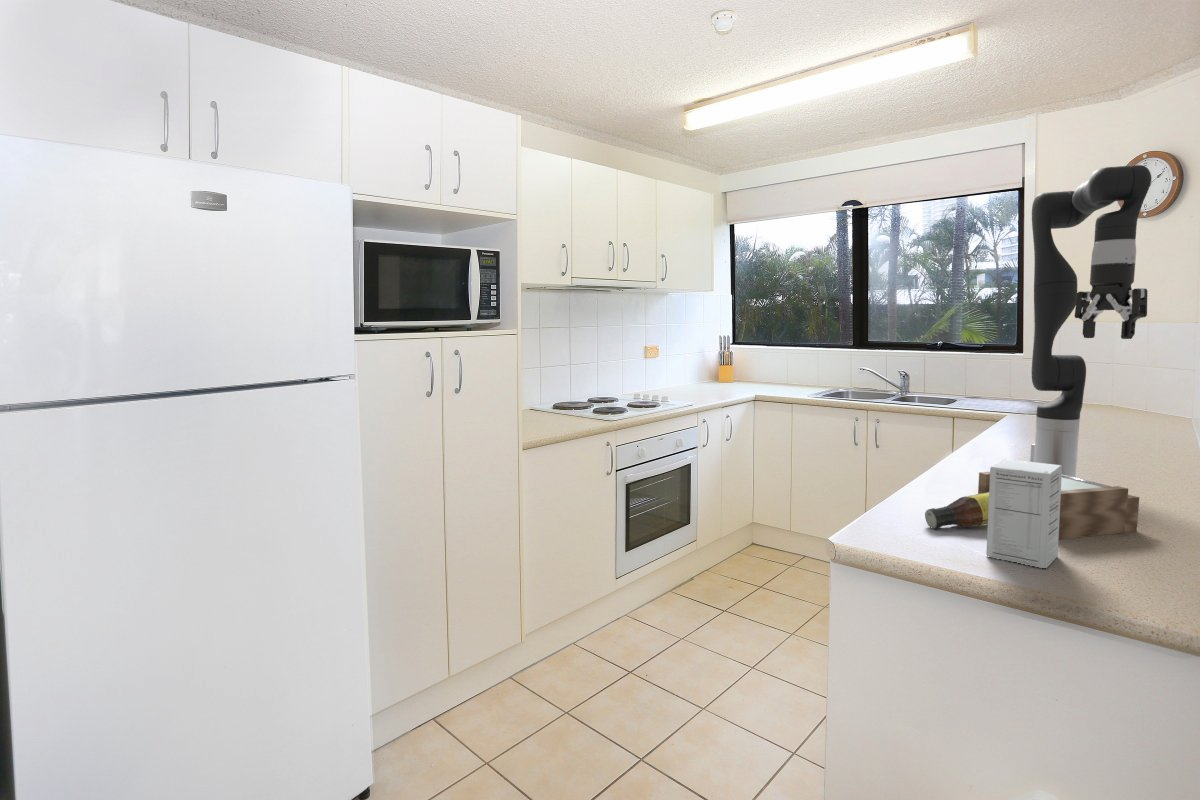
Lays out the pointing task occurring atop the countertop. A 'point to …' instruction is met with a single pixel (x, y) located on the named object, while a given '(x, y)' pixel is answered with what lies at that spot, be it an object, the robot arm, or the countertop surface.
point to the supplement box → (1024, 512)
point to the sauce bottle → (961, 512)
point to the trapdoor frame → (1090, 510)
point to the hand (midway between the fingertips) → (1107, 338)
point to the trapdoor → (1078, 483)
